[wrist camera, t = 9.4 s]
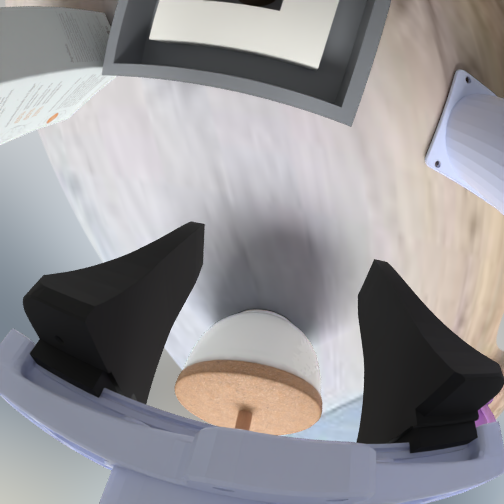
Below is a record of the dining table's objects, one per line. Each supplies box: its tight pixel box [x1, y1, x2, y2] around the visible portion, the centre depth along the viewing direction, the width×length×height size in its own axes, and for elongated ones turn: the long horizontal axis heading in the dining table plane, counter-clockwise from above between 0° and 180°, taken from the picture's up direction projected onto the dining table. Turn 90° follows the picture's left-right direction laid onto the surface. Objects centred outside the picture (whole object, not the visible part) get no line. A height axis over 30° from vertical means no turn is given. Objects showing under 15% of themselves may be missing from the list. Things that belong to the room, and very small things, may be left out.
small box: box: [0, 6, 117, 145], centre depth 11 cm, size 8×6×13 cm
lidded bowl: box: [175, 309, 322, 435], centre depth 24 cm, size 13×13×11 cm
